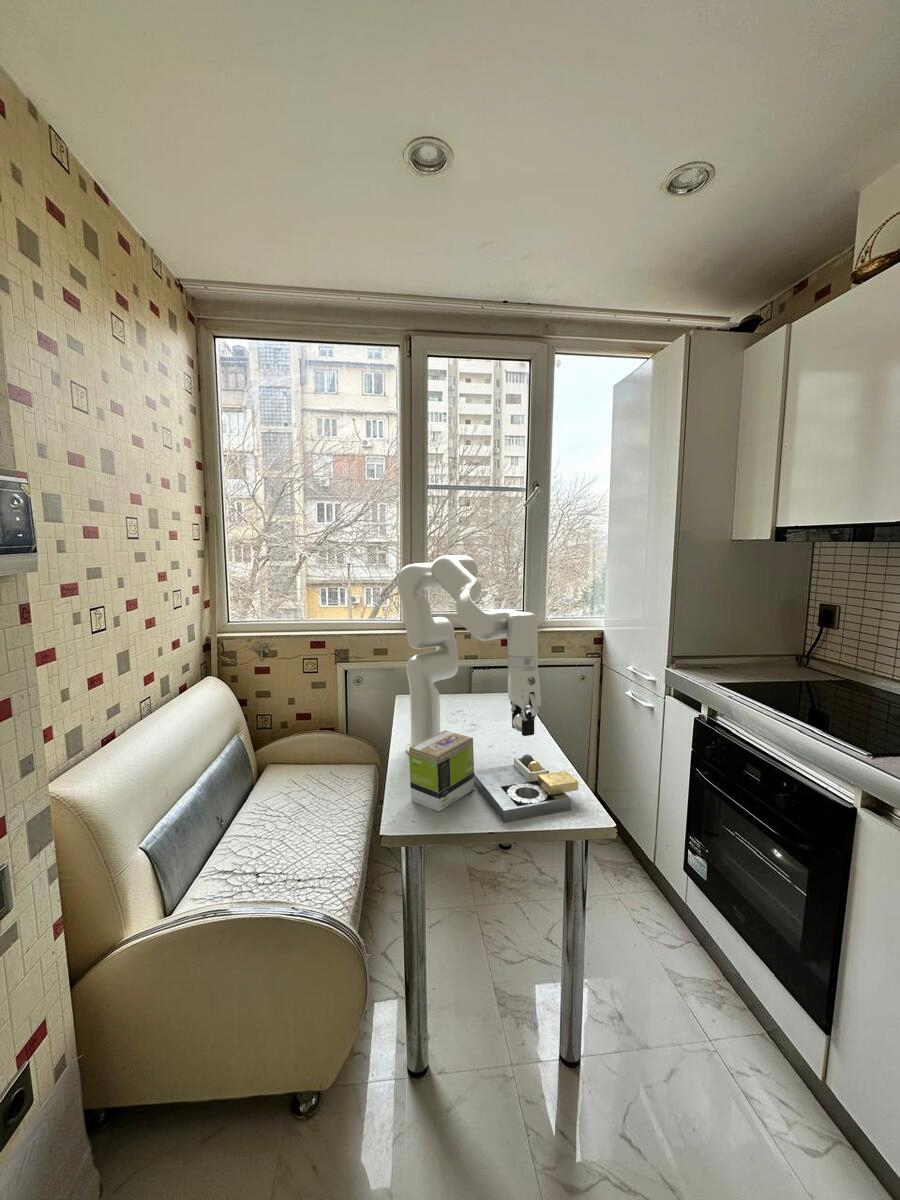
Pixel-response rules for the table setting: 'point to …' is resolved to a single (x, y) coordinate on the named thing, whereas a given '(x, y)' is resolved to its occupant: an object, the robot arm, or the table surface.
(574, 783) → the brass cover
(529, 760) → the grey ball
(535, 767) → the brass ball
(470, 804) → the table surface
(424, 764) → the tea box
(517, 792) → the bearing plate
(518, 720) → the steel ball
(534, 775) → the parts tray
